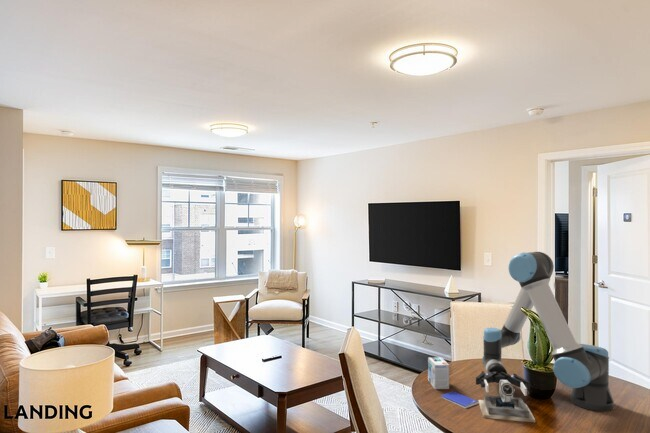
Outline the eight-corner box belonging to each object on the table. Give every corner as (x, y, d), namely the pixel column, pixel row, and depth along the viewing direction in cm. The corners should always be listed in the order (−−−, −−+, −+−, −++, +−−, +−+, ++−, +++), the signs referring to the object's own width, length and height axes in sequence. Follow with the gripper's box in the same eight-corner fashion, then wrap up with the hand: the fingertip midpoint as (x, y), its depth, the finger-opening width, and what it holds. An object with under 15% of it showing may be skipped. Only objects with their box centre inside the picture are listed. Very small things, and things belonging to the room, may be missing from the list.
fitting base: (526, 406, 171) (526, 397, 171) (535, 422, 158) (535, 412, 158) (478, 402, 175) (478, 393, 175) (483, 417, 161) (483, 408, 161)
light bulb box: (427, 380, 199) (427, 357, 199) (441, 380, 199) (441, 356, 199) (434, 389, 188) (434, 364, 188) (449, 389, 189) (449, 364, 189)
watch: (501, 413, 162) (501, 384, 163) (494, 404, 171) (494, 376, 171) (516, 414, 162) (516, 385, 162) (509, 405, 170) (509, 377, 170)
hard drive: (478, 400, 174) (453, 390, 184) (465, 405, 169) (440, 395, 180) (478, 404, 174) (453, 394, 184) (465, 409, 169) (440, 398, 180)
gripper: (527, 382, 182) (541, 403, 162) (466, 377, 188) (472, 397, 167) (527, 364, 182) (541, 383, 162) (465, 360, 188) (472, 378, 167)
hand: (506, 390), depth 164 cm, fingers open, 13 cm apart
